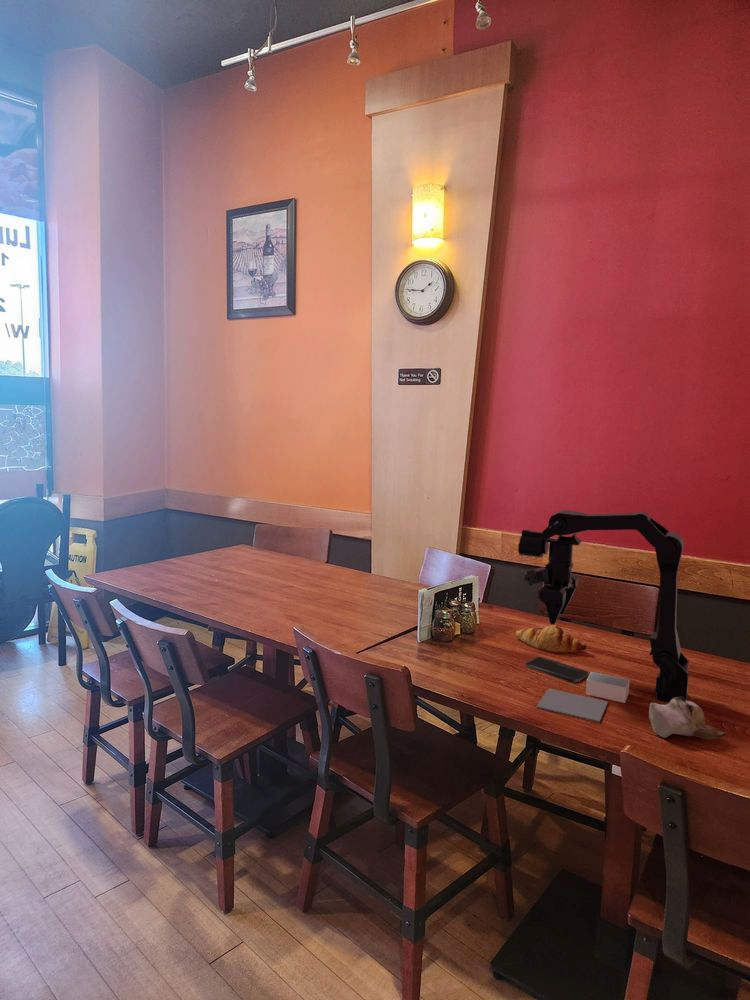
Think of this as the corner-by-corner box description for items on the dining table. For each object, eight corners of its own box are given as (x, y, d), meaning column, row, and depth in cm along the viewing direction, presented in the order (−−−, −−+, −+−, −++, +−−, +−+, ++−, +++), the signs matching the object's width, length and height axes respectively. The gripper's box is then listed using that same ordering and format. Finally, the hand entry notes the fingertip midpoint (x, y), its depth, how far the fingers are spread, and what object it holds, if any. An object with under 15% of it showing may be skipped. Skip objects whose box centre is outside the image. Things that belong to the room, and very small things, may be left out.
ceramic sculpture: (639, 685, 143) (703, 686, 145) (633, 722, 145) (697, 723, 147) (665, 708, 133) (733, 709, 135) (659, 747, 134) (727, 748, 136)
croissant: (511, 652, 194) (506, 633, 190) (523, 629, 201) (519, 609, 197) (583, 668, 182) (580, 647, 178) (593, 642, 189) (590, 622, 185)
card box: (628, 695, 159) (629, 679, 159) (624, 703, 154) (626, 687, 154) (590, 686, 163) (591, 671, 163) (585, 695, 159) (586, 679, 158)
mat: (607, 703, 154) (608, 701, 154) (599, 722, 144) (599, 720, 144) (548, 689, 161) (548, 688, 161) (536, 707, 151) (536, 706, 151)
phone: (575, 681, 164) (524, 663, 175) (575, 685, 165) (523, 667, 175) (590, 672, 170) (539, 655, 180) (590, 676, 170) (539, 659, 180)
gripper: (538, 549, 178) (535, 604, 181) (518, 563, 162) (515, 624, 164) (580, 554, 173) (576, 611, 175) (564, 569, 157) (560, 632, 159)
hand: (556, 618), depth 169 cm, fingers open, 9 cm apart
